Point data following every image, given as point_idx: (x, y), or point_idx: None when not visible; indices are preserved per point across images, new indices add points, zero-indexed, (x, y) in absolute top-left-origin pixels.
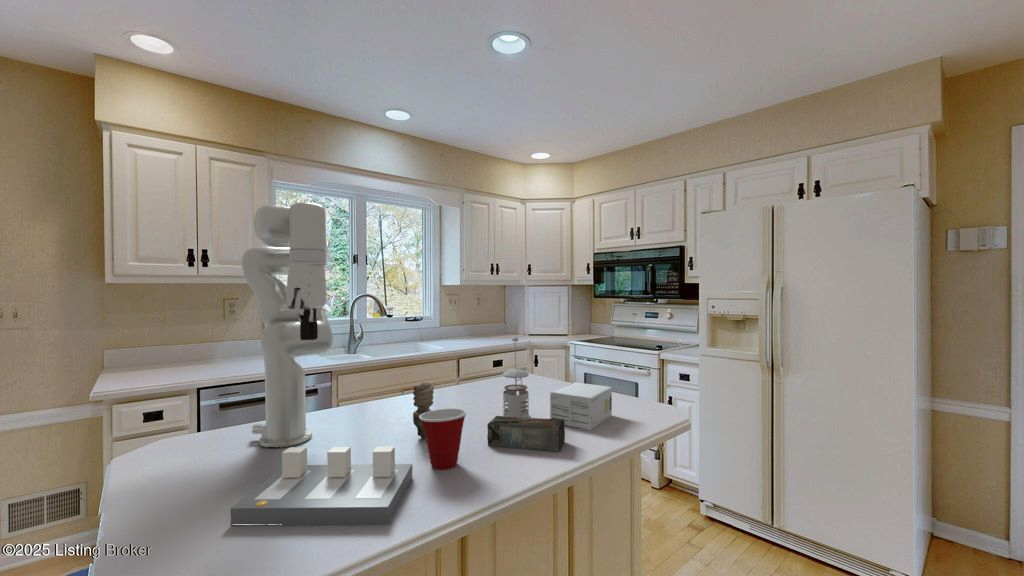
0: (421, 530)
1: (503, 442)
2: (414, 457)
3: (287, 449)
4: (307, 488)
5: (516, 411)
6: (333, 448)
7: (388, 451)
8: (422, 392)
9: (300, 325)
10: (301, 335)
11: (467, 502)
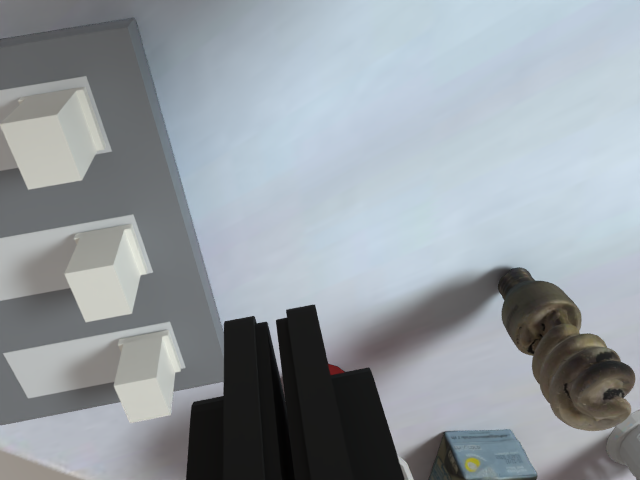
0: (19, 450)
1: (440, 468)
2: (359, 309)
3: (34, 122)
4: (1, 217)
5: (633, 468)
6: (101, 273)
7: (129, 417)
8: (550, 403)
9: (227, 476)
10: (229, 363)
11: (147, 476)
